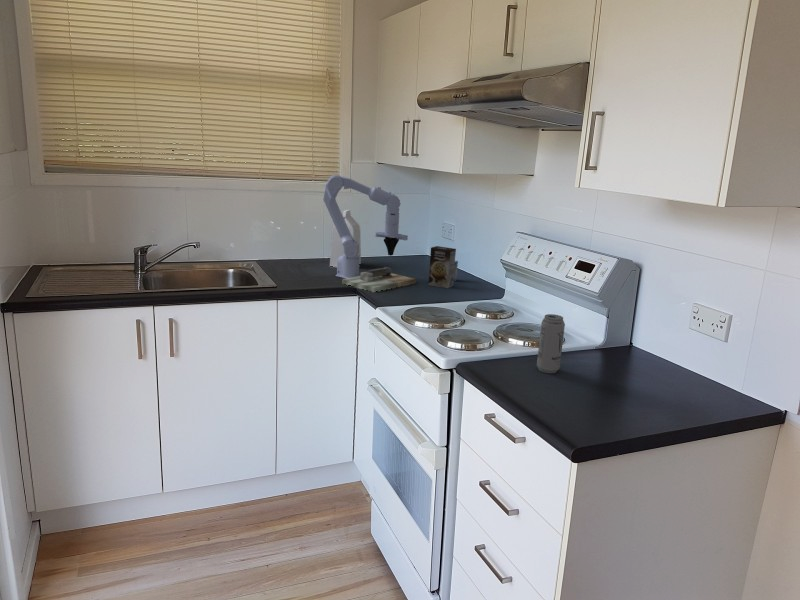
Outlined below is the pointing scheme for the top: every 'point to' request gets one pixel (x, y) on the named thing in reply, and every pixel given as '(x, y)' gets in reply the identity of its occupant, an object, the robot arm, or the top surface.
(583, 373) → the top surface
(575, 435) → the top surface
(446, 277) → the coffee box
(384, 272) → the lock bar
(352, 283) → the door and jamb
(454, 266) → the medicine box
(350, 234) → the robot arm
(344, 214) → the milk
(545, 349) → the energy drink can
